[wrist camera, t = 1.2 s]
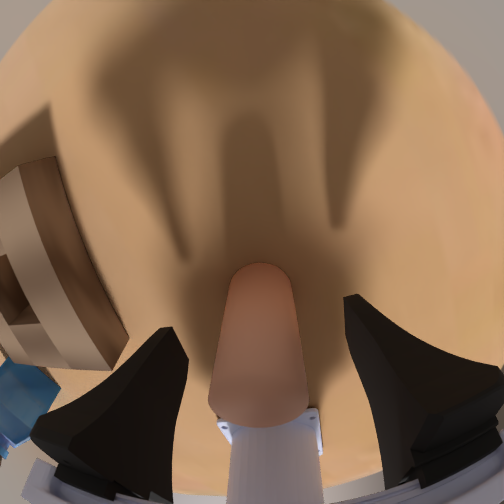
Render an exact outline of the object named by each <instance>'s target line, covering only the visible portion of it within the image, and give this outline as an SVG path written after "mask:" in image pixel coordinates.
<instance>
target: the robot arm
mask: <svg viewBox="0 0 504 504" xmlns="http://www.w3.org/2000/svg"><path fill="white" fill-rule="evenodd" d="M343 300H344V316H345V335H346V339H347V343H348V347H349V350H350V354H351V357H352V359H353V362H354V364H355V367H356V369H357V372H358V374H359V377H360V379H361V382H362V384H363V387H364V389H365V392H366V395H367V397H368V400H369V403H370V407H371V411H372V415H373V419H374V423H375V428H376V433H377V438H378V443H379V448H380V454H381V460H382V467H383V475H384V482H385V490H384V491H381V492H378V493H374V494H370V495H367V496H363V497H359V498H355V499H351V500H346V501H341V502H337V503H331V504H499V503H500V502H502V501H503V500H504V428H503V429H502V430H501V431H500V432H499V433H498V431H497V429H496V426H497V425H498V420H497V418H496V416H495V415H496V414H497V412H498V411H499V409H500V408H501V407H502V405H503V404H504V374H503V373H502V372H501V370H500V369H499V368H498V366H494V365H489V364H484V363H479V362H475V361H471V360H468V359H465V358H461V357H458V356H456V355H453V354H450V353H448V352H445V351H443V350H441V349H438V348H436V347H434V346H432V345H430V344H428V343H426V342H424V341H422V340H420V339H418V338H416V337H415V336H413V335H411V334H410V333H408V332H407V331H405V330H404V329H402V328H401V327H399V326H398V325H396V324H395V323H394V322H392V321H391V320H390V319H388V318H387V317H386V316H384V315H383V314H382V313H381V312H379V311H378V310H377V309H376V308H374V307H373V306H372V305H371V304H370V303H368V302H367V301H366V300H365V299H364V298H363V297H361V296H360V295H359V294H355V295H350V296H346V297H343ZM188 364H189V359H188V357H187V355H186V353H185V351H184V349H183V347H182V345H181V343H180V341H179V339H178V337H177V335H176V333H175V331H174V329H173V327H164V328H159V329H158V330H157V331H156V332H155V333H154V334H153V335H152V336H151V337H150V338H149V339H148V340H147V341H146V342H145V343H144V344H143V345H142V346H141V347H140V348H139V349H138V350H137V351H136V352H135V353H134V354H133V355H132V356H131V357H130V358H129V359H128V360H127V361H126V362H125V363H124V364H122V365H121V366H120V367H119V368H118V369H117V370H116V371H115V372H114V373H113V374H112V375H110V376H109V377H108V378H107V379H105V380H104V381H103V382H102V383H100V384H99V385H98V386H96V387H95V388H93V389H92V390H90V391H89V392H87V393H86V394H84V395H83V396H81V397H80V398H78V399H76V400H74V401H72V402H71V403H69V404H67V405H65V406H63V407H60V408H58V409H56V410H53V411H51V412H48V413H46V414H43V415H40V416H39V417H38V419H37V421H36V422H35V424H34V426H33V428H32V430H31V432H30V434H29V436H30V439H31V440H32V441H33V442H34V443H35V444H36V445H37V446H38V447H39V448H40V449H41V450H42V451H44V452H45V453H46V454H47V455H49V456H50V457H51V458H52V459H54V460H55V461H56V462H58V463H59V464H58V466H57V468H56V467H55V466H53V465H51V464H49V463H47V462H45V461H43V460H41V459H39V458H36V460H35V462H34V465H33V467H32V469H31V471H30V474H29V476H28V479H27V481H26V483H25V486H24V489H23V491H22V494H21V496H22V497H23V498H24V499H26V500H27V501H29V502H30V503H31V504H173V493H172V453H173V441H174V432H175V425H176V420H177V416H178V412H179V408H180V404H181V401H182V397H183V393H184V389H185V385H186V381H187V374H188ZM217 426H218V427H219V429H220V430H221V431H222V433H223V434H224V436H225V437H226V439H227V440H228V441H229V443H230V444H231V457H230V468H229V479H228V491H227V502H226V504H324V497H323V487H322V478H321V469H320V461H319V456H320V455H322V454H323V449H322V439H321V430H320V421H319V413H318V409H316V408H309V409H306V410H305V411H304V412H303V414H301V415H300V416H299V417H298V418H296V419H294V420H292V421H290V422H288V423H285V424H282V425H279V426H274V427H266V428H252V427H244V426H240V425H236V424H233V423H230V422H228V421H226V420H224V419H222V418H220V419H218V420H217Z"/></svg>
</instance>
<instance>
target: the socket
mask: <svg viewBox="0 0 504 504" xmlns="http://www.w3.org/2000/svg"><path fill="white" fill-rule="evenodd" d="M128 340H129V337H128V335H127V333H126V332H125V330H124V328H123V326H122V324H121V323H120V321H119V319H118V317H117V315H116V313H115V311H114V310H113V308H112V306H111V304H110V302H109V300H108V298H107V296H106V294H105V292H104V290H103V288H102V285H101V283H100V281H99V279H98V277H97V275H96V273H95V270H94V268H93V266H92V264H91V261H90V259H89V257H88V254H87V252H86V249H85V247H84V244H83V242H82V239H81V237H80V234H79V232H78V229H77V226H76V223H75V221H74V218H73V215H72V212H71V209H70V206H69V203H68V200H67V197H66V194H65V191H64V188H63V184H62V181H61V177H60V174H59V170H58V166H57V163H56V159H55V156H54V157H49V158H45V159H41V160H37V161H33V162H29V163H25V164H22V165H18V166H17V167H15V168H14V169H13V170H12V171H10V172H9V173H8V174H6V175H5V176H4V177H3V178H2V179H0V343H1V345H2V346H3V348H4V349H5V351H6V352H7V354H8V355H9V357H10V358H11V360H12V361H13V362H14V363H18V364H25V365H33V366H41V367H51V368H62V369H76V370H97V371H112V370H113V368H114V366H115V364H116V363H117V361H118V359H119V357H120V355H121V353H122V351H123V350H124V348H125V346H126V344H127V342H128Z"/></svg>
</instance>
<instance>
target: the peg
mask: <svg viewBox="0 0 504 504" xmlns="http://www.w3.org/2000/svg"><path fill="white" fill-rule="evenodd" d="M208 402H209V405H210V407H211V409H212V410H213V412H214V413H215V414H216V415H218V416H219V417H220V418H222V419H224V420H226V421H228V422H230V423H233V424H236V425H240V426H244V427H252V428H266V427H274V426H279V425H282V424H285V423H288V422H290V421H292V420H294V419H296V418H298V417H299V416H300V415H301V414H303V412H304V411H305V410H306V409H307V407H308V405H309V392H308V385H307V378H306V371H305V365H304V358H303V352H302V346H301V339H300V333H299V327H298V321H297V315H296V309H295V304H294V298H293V292H292V287H291V282H290V280H289V278H288V276H287V275H286V274H285V272H283V271H282V270H281V269H280V268H278V267H276V266H274V265H271V264H268V263H253V264H249V265H247V266H244V267H243V268H241V269H240V270H238V271H237V272H236V273H235V274H234V276H233V277H232V279H231V282H230V285H229V290H228V295H227V300H226V305H225V311H224V316H223V321H222V326H221V331H220V336H219V342H218V347H217V352H216V357H215V363H214V368H213V373H212V379H211V384H210V390H209V395H208Z"/></svg>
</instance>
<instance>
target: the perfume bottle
mask: <svg viewBox="0 0 504 504" xmlns="http://www.w3.org/2000/svg"><path fill="white" fill-rule="evenodd" d="M60 389H61V388H60V387H59V386H58V385H57V384H56V383H54V382H53V381H52V380H51V379H50V378H48V377H47V376H46V375H45V374H44V373H43V372H42V371H40V370H39V369H38V368H37V367H36V366H33V365H25V364H18V363H14V362H13V361H12V360H11V358H10V357H8V358H7V359H6V360H5V362H4V363H3V364H2V365H1V367H0V466H1V460H2V458H4V459H6V458H7V455H8V451H7V449H8V447H9V445H11V446H12V447H13V448H16V447H17V446H19V445H21V444H23V443H25V442H27V441H29V440H30V436H29V434H30V432H31V430H32V428H33V426H34V424H35V422H36V421H37V419H38V417H39V416H40V415H43V414H46V413H47V412H48V410H49V408H50V407H51V405H52V403H53V401H54V400H55V398H56V396H57V394H58V393H59V391H60Z"/></svg>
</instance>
